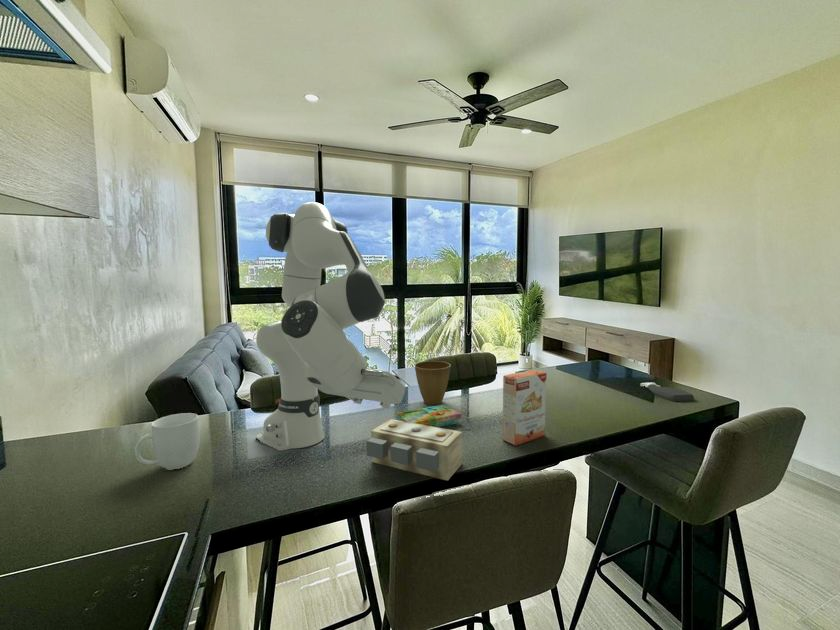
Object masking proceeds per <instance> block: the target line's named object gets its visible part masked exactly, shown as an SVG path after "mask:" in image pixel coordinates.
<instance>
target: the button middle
mask: <svg viewBox="0 0 840 630" xmlns="http://www.w3.org/2000/svg"><path fill="white" fill-rule="evenodd" d="M391 461H392V462H396V463H400V464H404V465H409V464H410V463H411V462H412V461H413V458H412V446H409V445H405V444H400V443H394V444H393V445H392V446H391Z"/></svg>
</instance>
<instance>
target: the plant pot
mask: <svg viewBox="0 0 840 630" xmlns="http://www.w3.org/2000/svg"><path fill="white" fill-rule="evenodd" d="M451 367H452V366H451V363H449V362H446V361H438V360H428V361H427V360H426V361H425V360H424V361H419V362H415V364H414V371H415V376H416V381H417V385H418V388H419V393H420V395H421V398H422V399H423V402H424V404H426V405H429V406H438V405H441V403H443V400H444V396H445V394H446V391H447V388H448V383H449V378H450V372H451Z"/></svg>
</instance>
